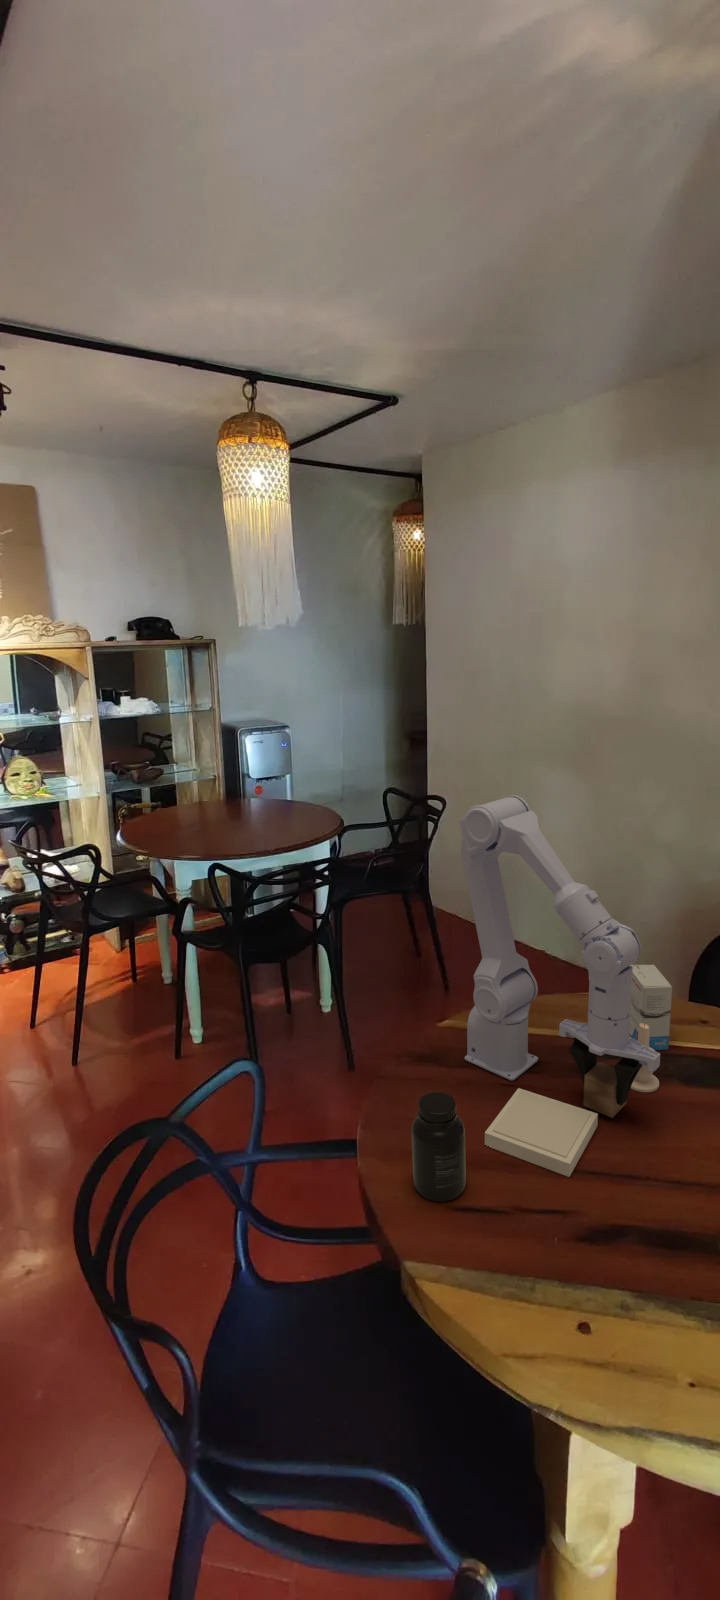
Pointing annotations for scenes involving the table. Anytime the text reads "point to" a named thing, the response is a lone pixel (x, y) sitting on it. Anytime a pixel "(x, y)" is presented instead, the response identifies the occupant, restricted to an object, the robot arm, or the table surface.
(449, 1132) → the supplement bottle
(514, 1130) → the plate
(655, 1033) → the ink box
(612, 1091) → the block
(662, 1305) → the table surface
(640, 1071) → the candle
